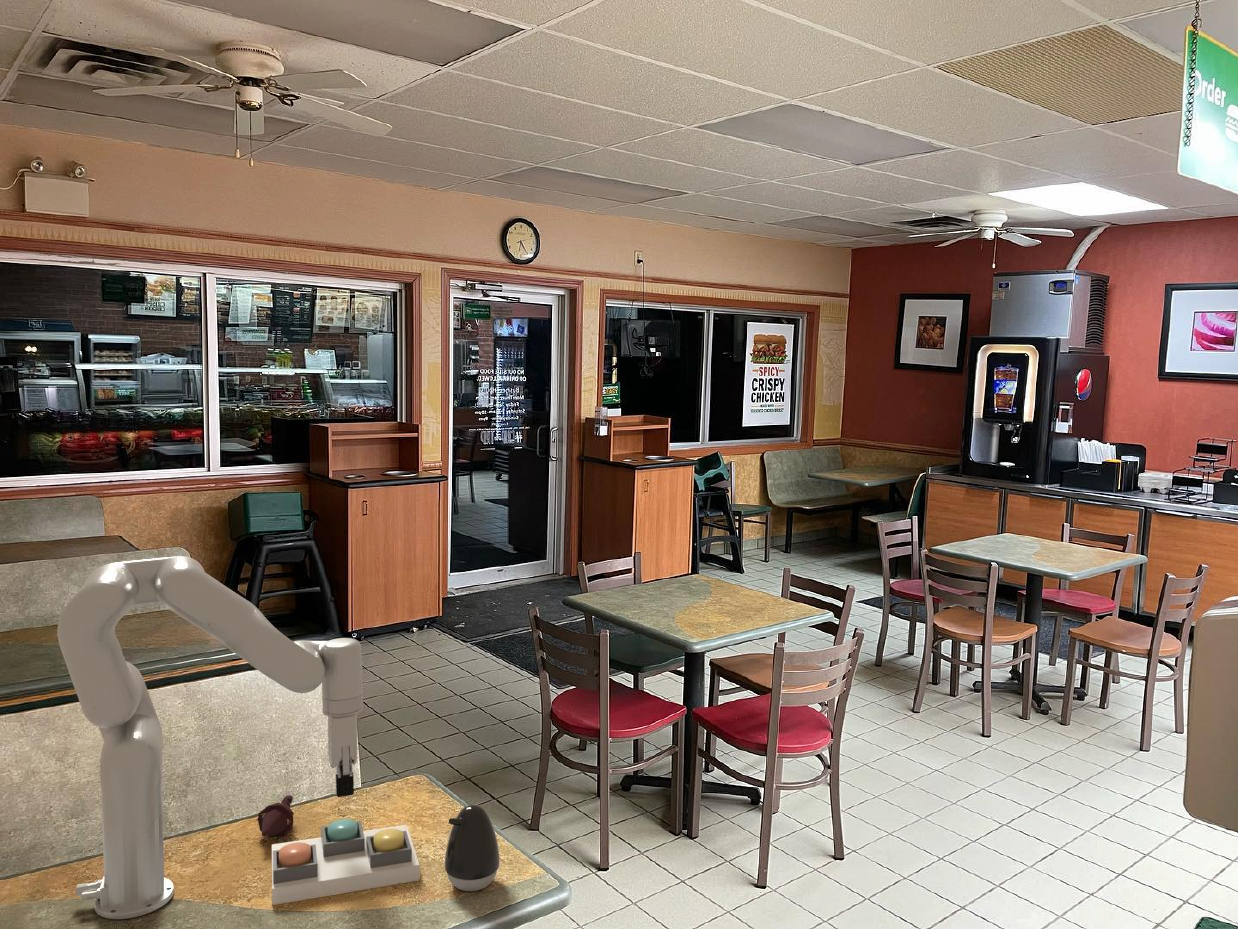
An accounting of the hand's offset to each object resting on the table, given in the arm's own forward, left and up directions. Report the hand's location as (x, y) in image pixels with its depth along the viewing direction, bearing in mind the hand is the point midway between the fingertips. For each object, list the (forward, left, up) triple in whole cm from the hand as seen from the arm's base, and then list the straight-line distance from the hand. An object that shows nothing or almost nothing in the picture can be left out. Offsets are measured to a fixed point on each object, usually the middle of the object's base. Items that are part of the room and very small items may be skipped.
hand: (345, 794), depth 179 cm
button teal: (0, 0, -9) cm, 9 cm away
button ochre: (+8, -7, -9) cm, 13 cm away
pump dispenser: (+22, -17, -13) cm, 31 cm away
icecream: (-13, +14, -14) cm, 23 cm away
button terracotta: (-9, -7, -9) cm, 15 cm away
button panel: (0, -4, -13) cm, 14 cm away
